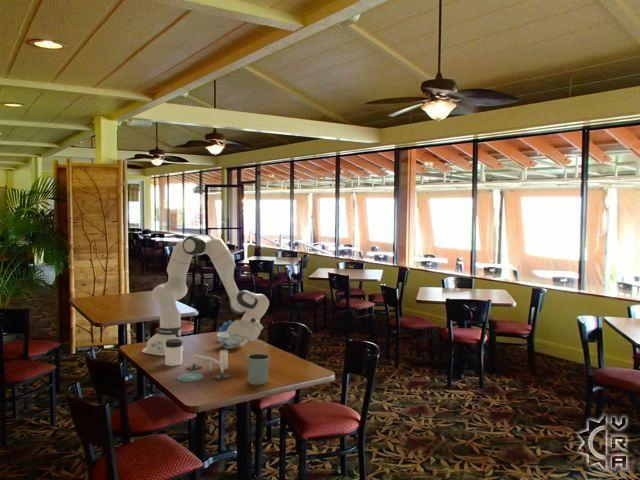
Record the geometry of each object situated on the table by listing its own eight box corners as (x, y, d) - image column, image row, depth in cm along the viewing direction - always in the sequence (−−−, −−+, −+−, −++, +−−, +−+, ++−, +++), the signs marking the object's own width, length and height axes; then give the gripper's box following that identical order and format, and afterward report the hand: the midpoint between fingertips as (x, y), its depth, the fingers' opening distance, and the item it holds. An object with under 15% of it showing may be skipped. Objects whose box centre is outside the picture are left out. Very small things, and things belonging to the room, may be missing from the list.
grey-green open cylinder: (243, 380, 233) (243, 355, 233) (262, 376, 239) (262, 351, 239) (253, 386, 225) (254, 360, 225) (273, 382, 231) (273, 356, 231)
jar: (167, 361, 263) (167, 338, 262) (183, 361, 264) (183, 338, 263) (163, 366, 254) (163, 343, 253) (180, 366, 255) (180, 342, 254)
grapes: (235, 337, 315) (235, 318, 315) (238, 339, 309) (238, 320, 309) (216, 339, 310) (216, 319, 310) (219, 341, 304) (219, 322, 304)
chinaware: (247, 348, 290) (247, 335, 289) (222, 351, 282) (222, 338, 281) (236, 342, 302) (236, 330, 302) (213, 345, 294) (213, 332, 294)
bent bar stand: (185, 368, 251) (185, 354, 250) (195, 366, 255) (195, 352, 255) (220, 380, 233) (220, 365, 233) (230, 377, 238) (230, 362, 237)
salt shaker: (218, 369, 250) (218, 351, 250) (221, 366, 254) (221, 349, 254) (225, 369, 249) (225, 352, 249) (229, 367, 253) (229, 349, 253)
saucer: (172, 380, 232) (172, 379, 232) (185, 373, 244) (185, 371, 244) (195, 383, 229) (195, 381, 229) (207, 375, 241) (207, 374, 241)
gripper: (232, 315, 269) (218, 337, 262) (259, 321, 256) (244, 343, 249) (239, 322, 272) (225, 343, 265) (265, 328, 259) (251, 350, 252)
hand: (234, 343), depth 257 cm, fingers open, 8 cm apart
